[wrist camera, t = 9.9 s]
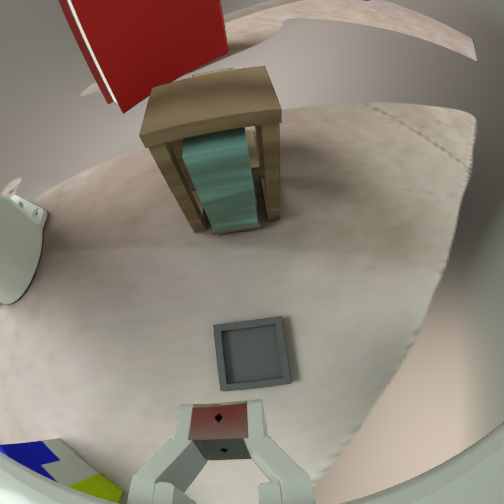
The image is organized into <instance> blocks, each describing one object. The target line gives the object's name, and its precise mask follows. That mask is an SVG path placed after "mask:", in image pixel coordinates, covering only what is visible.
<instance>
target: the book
mask: <svg viewBox="0 0 504 504" xmlns="http://www.w3.org/2000/svg"><path fill="white" fill-rule="evenodd" d="M59 3H60V5H61V8H62V10H63V12H64V15H65V17H66V19H67V21H68V24H69V26H70V28H71V30H72V32H73V35H74V37H75V39H76V41H77V43H78V45H79V48H80V50H81V52H82V54H83V56H84V58H85V60H86V62H87V64H88V66H89V68H90V70H91V72H92V74H93V76H94V78H95V80H96V82H97V84H98V86H99V88H100V90H101V92H102V93H103V95H104V97H105V99H106V101H107V103H108V104H110V103H112V102H113V101H114V102H116V103H118V105H119V107H120V108H121V111H122V112H123V113H125V112H127V111H128V110H129V109H131V108H132V107H134V106H135V105H136V104H138V103H139V102H141V101H142V100H144V99H145V98H147V97H148V96H150V94H151V91H152V88H154V87H157V86H161V85H164V84H168V83H171V82H172V81H174V80H176V79H177V78H179V77H181V76H183V75H185V74H186V73H188V72H190V71H192V70H194V69H196V68H198V67H199V66H201V65H203V64H205V63H207V62H209V61H211V60H213V59H215V58H218V57H220V56H222V55H224V54H226V53H228V50H229V49H228V43H227V37H226V31H225V25H224V19H223V13H222V7H221V1H220V0H59Z"/></svg>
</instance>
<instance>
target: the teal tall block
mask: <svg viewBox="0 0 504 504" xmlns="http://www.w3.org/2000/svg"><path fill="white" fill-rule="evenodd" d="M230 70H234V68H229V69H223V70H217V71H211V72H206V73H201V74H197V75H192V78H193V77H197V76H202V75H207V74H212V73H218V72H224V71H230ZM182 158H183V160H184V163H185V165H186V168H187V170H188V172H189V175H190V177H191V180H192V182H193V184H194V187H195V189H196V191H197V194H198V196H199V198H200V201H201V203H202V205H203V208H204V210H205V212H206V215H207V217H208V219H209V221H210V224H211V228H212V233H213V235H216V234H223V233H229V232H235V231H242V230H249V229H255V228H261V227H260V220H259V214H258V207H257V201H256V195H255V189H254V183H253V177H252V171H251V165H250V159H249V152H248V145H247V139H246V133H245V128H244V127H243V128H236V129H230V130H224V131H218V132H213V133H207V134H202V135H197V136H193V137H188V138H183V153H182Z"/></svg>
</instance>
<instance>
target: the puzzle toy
mask: <svg viewBox="0 0 504 504" xmlns="http://www.w3.org/2000/svg"><path fill="white" fill-rule="evenodd" d="M0 452H1V453H3V454H5V455H6V456H8V457H9V458H11V459H13V460H14V461H16V462H18V463H20V464H21V465H23V466H25V467H27V468H29V469H31V470H32V471H34V472H36V473H38V474H40V475H42V476H44V477H47V478H49V479H51V480H53V481H55V482H58V483H60V484H62V485H65V486H67V487H70V488H72V489H75V490H77V491H80V492H83V493H86V494H88V495H91V496H94V497H97V498H101V499H104V500H107V501H111V502H114V503H118V502H119V500H120V497H121V495H122V492H123V490H122V489H121V488H119V487H118V486H116V485H115V484H113V483H112V482H111V481H109V480H108V479H106V478H105V477H104V476H102V475H101V474H100V473H99V472H97V471H96V470H95V469H93V468H92V467H91V466H90V465H89V464H87V463H86V462H85V461H84V460H83V459H81V458H80V457H79V456H78V455H77V454H76V453H75V452H73V451H72V450H71V449H70V448H69V447H68V446H67V445H66V444H65V443H64V442H63V441H62V440H61V439H60V438H57V439H51V440H44V441H37V442H28V443H19V444H6V445H0Z"/></svg>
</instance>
